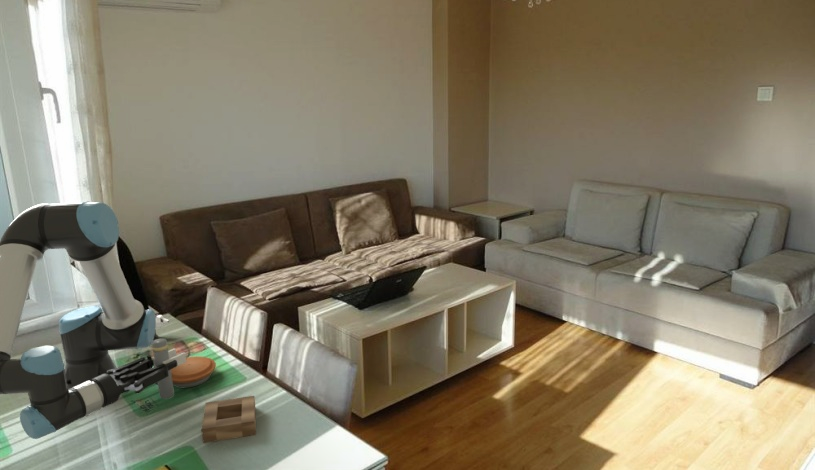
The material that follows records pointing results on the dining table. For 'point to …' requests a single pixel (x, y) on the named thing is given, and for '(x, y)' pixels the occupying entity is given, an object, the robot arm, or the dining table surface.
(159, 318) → the giant panda
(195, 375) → the pie
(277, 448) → the dining table surface
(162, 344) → the gray cylinder
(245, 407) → the wooden square frame
